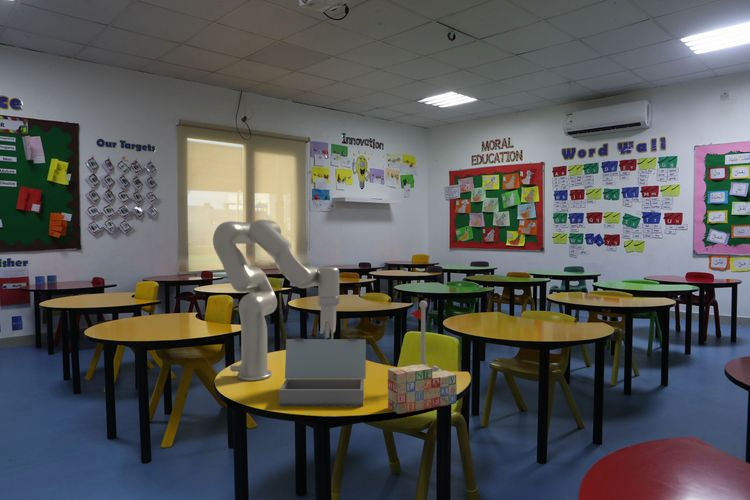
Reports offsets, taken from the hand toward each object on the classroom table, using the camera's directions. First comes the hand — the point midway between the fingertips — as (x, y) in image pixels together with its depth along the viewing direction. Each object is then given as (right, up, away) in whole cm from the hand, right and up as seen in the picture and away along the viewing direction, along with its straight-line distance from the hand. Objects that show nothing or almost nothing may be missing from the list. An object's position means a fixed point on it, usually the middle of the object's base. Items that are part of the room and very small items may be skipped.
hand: (329, 351), depth 172 cm
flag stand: (+34, -12, -1) cm, 36 cm away
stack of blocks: (+31, -12, -24) cm, 41 cm away
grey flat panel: (0, 0, -13) cm, 13 cm away
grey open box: (0, -12, -19) cm, 22 cm away
